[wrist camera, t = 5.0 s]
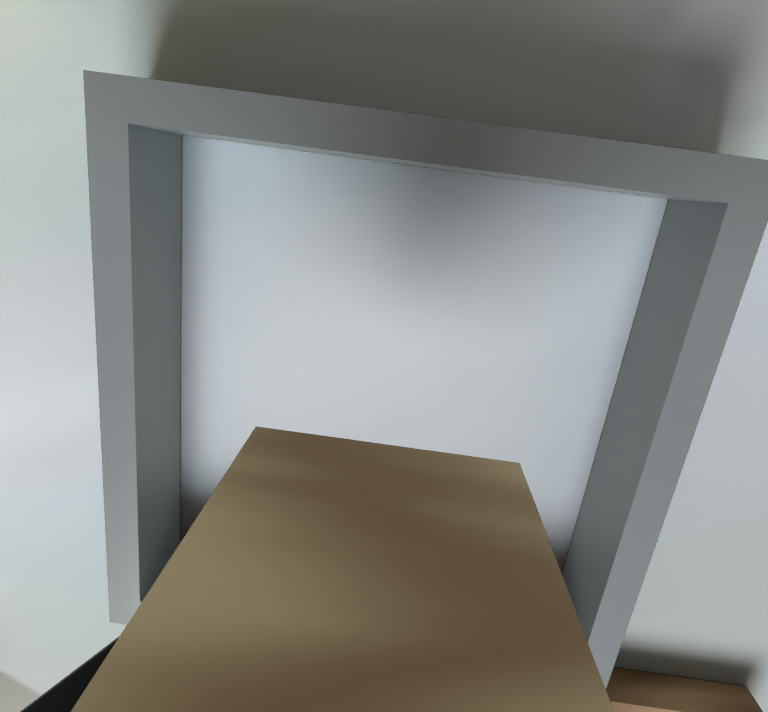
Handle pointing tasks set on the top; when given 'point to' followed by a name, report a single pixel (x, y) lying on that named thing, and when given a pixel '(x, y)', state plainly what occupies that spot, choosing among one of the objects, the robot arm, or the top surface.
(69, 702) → the robot arm
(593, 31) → the top surface
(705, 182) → the slate bin
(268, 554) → the maple block
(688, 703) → the walnut tray
